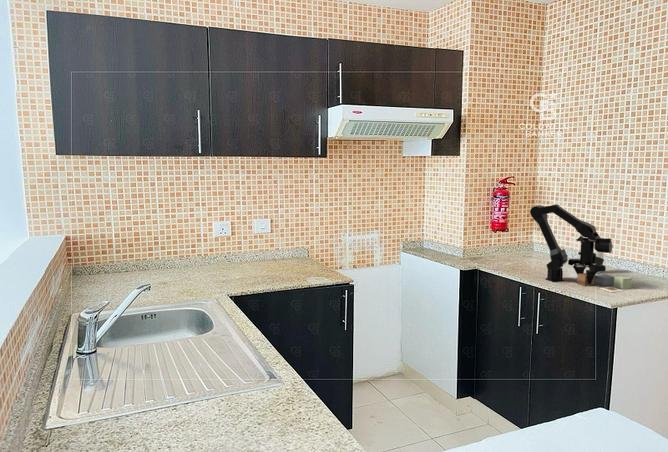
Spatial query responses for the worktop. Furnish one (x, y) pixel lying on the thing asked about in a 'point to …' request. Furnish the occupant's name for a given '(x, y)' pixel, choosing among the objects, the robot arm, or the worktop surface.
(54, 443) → the worktop surface
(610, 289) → the card
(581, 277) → the walnut block
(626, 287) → the sage block
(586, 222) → the robot arm
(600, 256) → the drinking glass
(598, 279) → the slate base block
